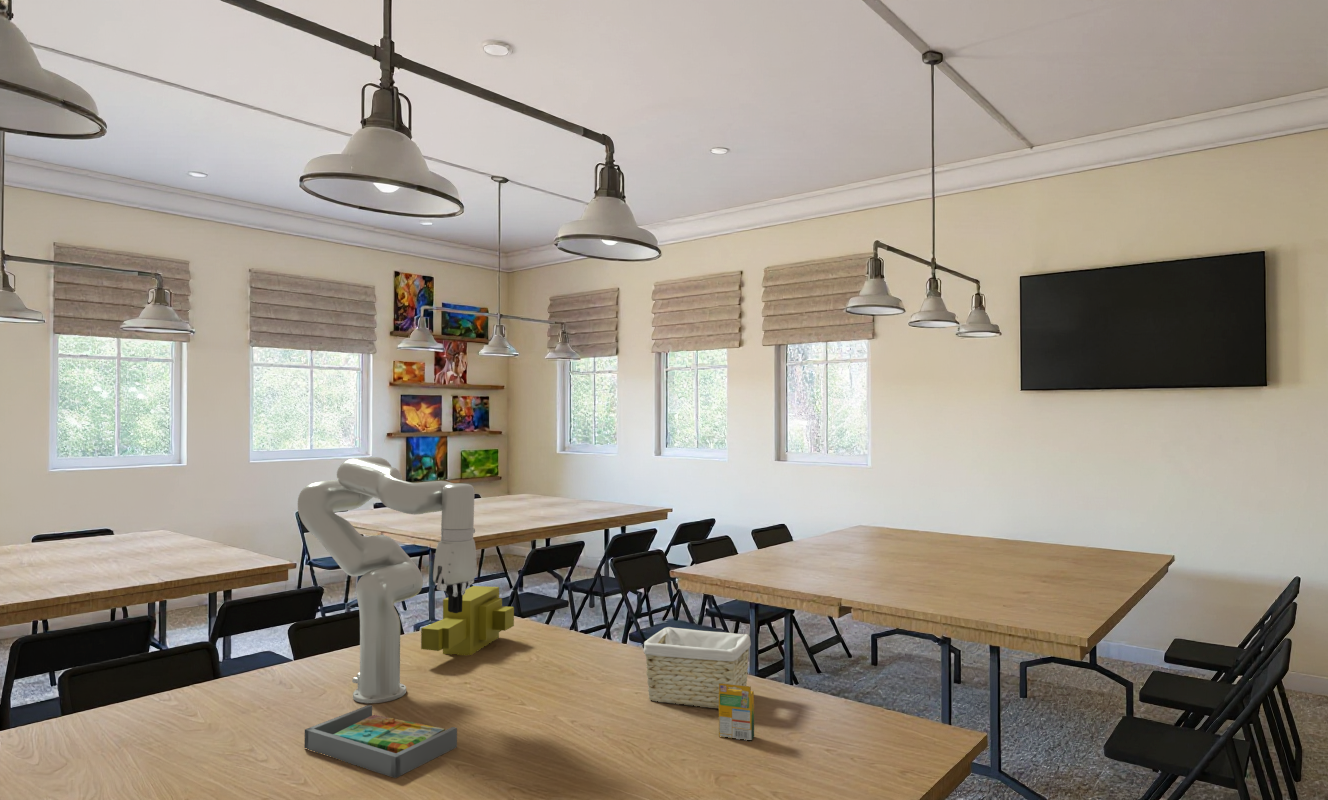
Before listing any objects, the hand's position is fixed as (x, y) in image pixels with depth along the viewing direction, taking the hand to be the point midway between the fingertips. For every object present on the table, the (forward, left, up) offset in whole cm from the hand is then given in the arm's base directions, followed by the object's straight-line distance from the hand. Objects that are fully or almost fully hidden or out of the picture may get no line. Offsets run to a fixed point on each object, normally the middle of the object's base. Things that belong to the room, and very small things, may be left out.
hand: (454, 611), depth 183 cm
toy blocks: (-29, +37, -23) cm, 53 cm away
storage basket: (+47, +36, -23) cm, 64 cm away
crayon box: (+66, +18, -23) cm, 72 cm away
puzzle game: (+4, -23, -24) cm, 34 cm away
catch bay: (+3, -23, -23) cm, 33 cm away
